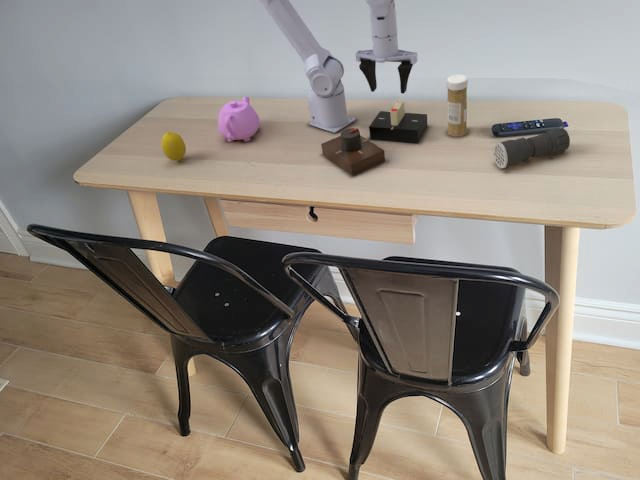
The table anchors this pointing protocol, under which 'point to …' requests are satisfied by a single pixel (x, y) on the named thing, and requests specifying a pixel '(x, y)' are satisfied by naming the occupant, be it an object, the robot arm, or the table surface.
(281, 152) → the table surface
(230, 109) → the teapot
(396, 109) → the bar knob
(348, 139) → the round dial
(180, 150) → the lemon
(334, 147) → the walnut console
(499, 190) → the table surface
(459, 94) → the sprinkles bottle
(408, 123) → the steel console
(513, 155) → the flashlight
